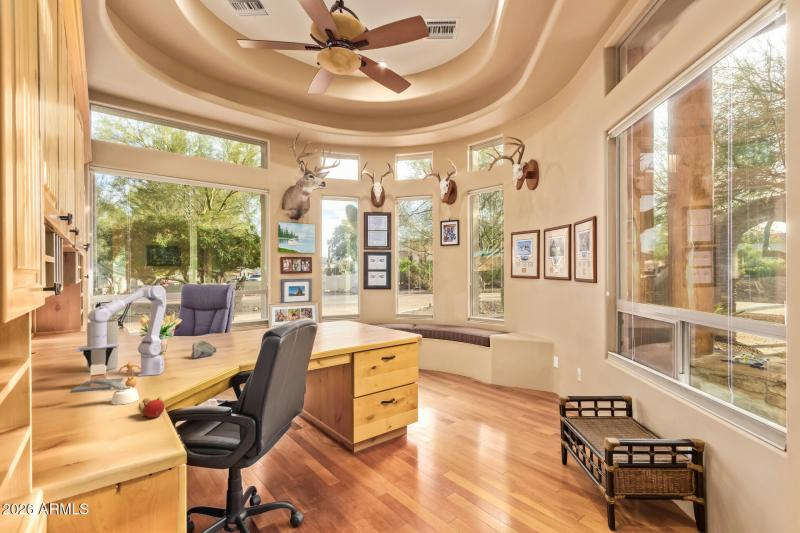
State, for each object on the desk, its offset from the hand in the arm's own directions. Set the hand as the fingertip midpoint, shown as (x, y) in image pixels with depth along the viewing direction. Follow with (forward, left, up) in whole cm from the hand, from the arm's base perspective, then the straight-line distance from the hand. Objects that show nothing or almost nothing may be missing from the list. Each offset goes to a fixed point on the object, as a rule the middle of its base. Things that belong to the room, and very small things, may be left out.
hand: (98, 366), depth 166 cm
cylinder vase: (+12, -34, -9) cm, 37 cm away
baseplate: (0, 0, -9) cm, 9 cm away
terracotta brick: (0, 0, -8) cm, 8 cm away
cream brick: (0, -1, -3) cm, 3 cm away
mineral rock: (-33, -48, -9) cm, 59 cm away
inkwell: (-15, +27, -9) cm, 32 cm away
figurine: (-15, +8, -9) cm, 19 cm away
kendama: (-33, +43, -9) cm, 55 cm away
